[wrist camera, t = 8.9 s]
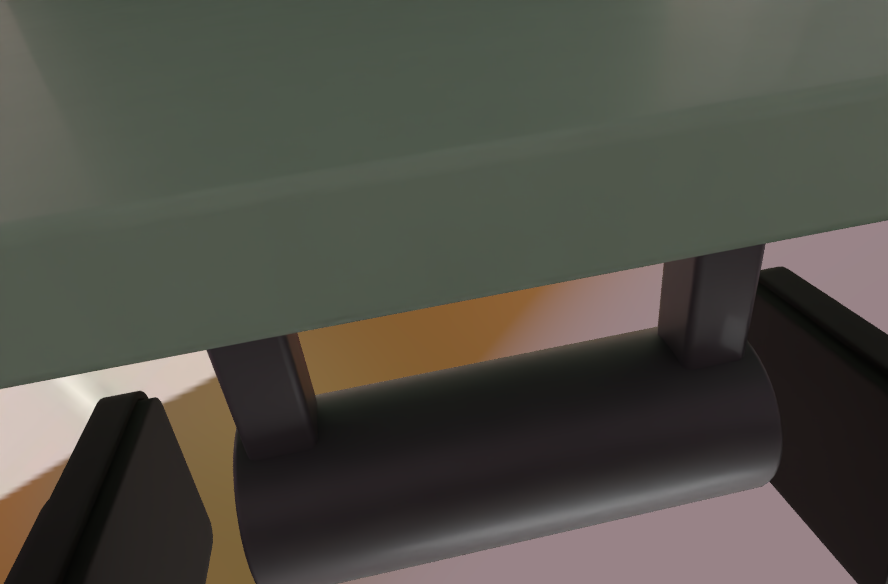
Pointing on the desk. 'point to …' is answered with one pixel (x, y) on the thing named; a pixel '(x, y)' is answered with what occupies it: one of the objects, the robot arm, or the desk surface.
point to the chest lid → (431, 237)
